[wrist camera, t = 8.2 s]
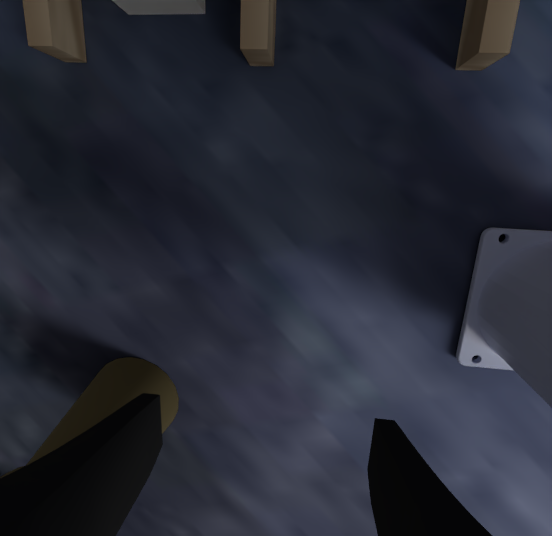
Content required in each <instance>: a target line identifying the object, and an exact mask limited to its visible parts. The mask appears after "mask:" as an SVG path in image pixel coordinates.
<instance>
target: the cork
mask: <svg viewBox="0 0 552 536" xmlns="http://www.w3.org/2000/svg"><path fill="white" fill-rule="evenodd" d="M142 393H149V394H158V395H160V404H161V423H162V434H163V432H164V431H165V430H166V429H167V427H168V426H169V425H170V424H171V422H172V421H173V420H174V418H175V415H176V413H177V411H178V400H179V398H178V394H177V391H176V388H175V385H174V384H173V382H172V381H171V379H170V378H169V376H168V375H167V374H166V373H165V372H164V371H162V370H161V369H160V368H159V367H158V366H156V365H154V364H152V363H150V362H148V361H146V360H144V359H138V358H132V357H126V358H119V359H115V360H113V361H111V362H109V363H107V364H106V365H105V366H104V367H103V368H102V369H101V370H100V372H99V373H98V374H97V375H96V376H95V378H94V379H93V380H92V382H91V383H90V384H89V385H88V387H87V388H86V389H85V391H84V392H83V393H82V394H81V396H80V397H79V398H78V400H77V401H76V402H75V403H74V405H73V406H72V407H71V409H70V410H69V411H68V412H67V414H66V415H65V416H64V417H63V419H62V420H61V421H60V423H59V424H58V425H57V426H56V428H55V429H54V430H53V432H52V433H51V434H50V435H49V437H48V438H47V439H46V441H45V442H44V443H43V444H42V446H41V447H40V448H39V450H38V451H37V452H36V453H35V455H34V456H33V457H32V458H31V460H30V461H29V462H28V464H30V463H32V462H34V461H36V460H38V459H39V458H41V457H43V456H45V455H47V454H48V453H50V452H52V451H54V450H55V449H57V448H59V447H60V446H62V445H64V444H65V443H67V442H68V441H70V440H72V439H73V438H75V437H77V436H78V435H80V434H81V433H83V432H85V431H86V430H88V429H89V428H91V427H92V426H94V425H96V424H97V423H99V422H100V421H102V420H103V419H105V418H106V417H108V416H109V415H111V414H112V413H113V412H115V411H116V410H118V409H119V408H121V407H122V406H124V405H125V404H127V403H128V402H130V401H131V400H133V399H134V398H136V397H137V396H139V395H140V394H142ZM28 464H27V465H28ZM23 467H24V466H23ZM20 468H22V467H19V468H17V469H15V470H12V471H10V472H8V473H6V474H5V475H3V476H1V477H0V478H2V477H4V476H6V475H9V474H11V473H13V472H15V471H17V470H19V469H20Z"/></svg>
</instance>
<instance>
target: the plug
mask: <svg viewBox="0 0 552 536" xmlns="http://www.w3.org/2000/svg"><path fill="white" fill-rule="evenodd" d="M112 1H113V2H114V3H115V4H117V5H118V6H119V7H120V8H121V9H123V10H124V11H125V12H126V13H127V14H128V15H153V14H205V0H112Z"/></svg>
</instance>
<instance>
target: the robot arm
mask: <svg viewBox="0 0 552 536" xmlns="http://www.w3.org/2000/svg"><path fill="white" fill-rule="evenodd" d="M502 234H505V239H504V241H502V242H499V239H498V238H499V236H500V235H502ZM475 355H478V358H477V359H475V360H472V357H473V356H475ZM456 358H457V360H458V362H459V363H460V364H461V365H464V366H472V367H483V368H493V369H504V370H514V371H515V372H516V373H517V374H518V375H519V376H520V377H521V378H522V379H523V380H524V381H525V382H526V383H527V384H528V385H529V386H530V387H531V388H532V389H533V390H534V391H535V392H536V393H537V394H538V395H539V396H540V397H541V398H542V399H543V400H545V401H546V402H547V403H548V404H549V405H550V406H551V407H552V231H543V230H526V229H510V228H493V227H492V228H488V229H486V230H484V231H483V232H482V234H481V237H480V241H479V246H478V251H477V256H476V261H475V266H474V270H473V275H472V280H471V285H470V290H469V294H468V299H467V304H466V309H465V314H464V319H463V323H462V328H461V333H460V338H459V343H458V347H457V352H456ZM162 445H163V443H162V423H161V404H160V395H158V394H149V393H142V394H140V395H139V396H137V397H136V398H134V399H133V400H131V401H130V402H128V403H127V404H125V405H124V406H122V407H121V408H119V409H118V410H116V411H115V412H113V413H112V414H111V415H109V416H108V417H106V418H105V419H103V420H102V421H100V422H99V423H97V424H96V425H94V426H92V427H91V428H89V429H88V430H86V431H85V432H83V433H81V434H80V435H78V436H77V437H75V438H73V439H72V440H70V441H68V442H67V443H65V444H64V445H62V446H60V447H59V448H57V449H55V450H54V451H52V452H50V453H48V454H47V455H45V456H43V457H41V458H39V459H38V460H36V461H34V462H32V463H30V464H28V465H26V466H24V467H22V468H20V469H19V470H17V471H15V472H13V473H11V474H9V475H6V476H4V477H2V478H0V536H116V534H117V532H118V531H119V529H120V527H121V525H122V524H123V522H124V520H125V518H126V517H127V515H128V513H129V511H130V510H131V508H132V506H133V504H134V502H135V501H136V499H137V497H138V495H139V494H140V492H141V490H142V488H143V486H144V485H145V483H146V481H147V479H148V477H149V475H150V473H151V471H152V469H153V466H154V464H155V462H156V459H157V457H158V455H159V452H160V450H161V447H162ZM368 479H369V489H370V497H371V505H372V510H373V514H374V519H375V524H376V528H377V533H378V536H492V535H491V534H490V533H489V532H488V531H487V530H486V529H485V528H484V527H483V526H482V525H481V524H480V523H479V522H478V521H477V520H476V519H475V518H474V517H473V516H472V515H471V514H470V513H469V512H468V511H467V510H466V509H465V508H464V507H463V506H462V504H461V503H460V502H459V501H458V500H457V499H456V498H455V497H454V495H453V494H452V493H451V492H450V491H449V490H448V489H447V487H446V486H445V485H444V484H443V483H442V481H441V480H440V479H439V478H438V477H437V475H436V474H435V473H434V472H433V470H432V469H431V468H430V467H429V465H428V464H427V463H426V462H425V460H424V459H423V458H422V457H421V455H420V454H419V453H418V451H417V450H416V449H415V447H414V446H413V445H412V443H411V442H410V441H409V439H408V438H407V437H406V435H405V434H404V432H403V431H402V430H401V428H400V427H399V426H398V424H397V423H396V422H395V421H394V420H386V419H377V418H375V422H374V429H373V435H372V442H371V449H370V456H369V463H368Z"/></svg>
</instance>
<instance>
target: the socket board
mask: <svg viewBox="0 0 552 536" xmlns="http://www.w3.org/2000/svg"><path fill="white" fill-rule="evenodd" d="M519 4H520V0H467V2H466V8H465V14H464V20H463V26H462V32H461V38H460V44H459V50H458V56H457V62H456V68H455V70H483V69H485V68H486V67H488V66H490V65H491V64H493V63H494V62H496V61H498V60H499V59H501V58H503V57H504V56H506V55H507V54H509V53H510V48H511V43H512V38H513V33H514V28H515V23H516V18H517V13H518V8H519ZM23 8H24V15H25V23H26V31H27V39H28V46H30V47H33V48H35V49H37V50H39V51H42V52H44V53H46V54H48V55H51V56H53V57H55V58H57V59H60V60H62V61H64V62H84V63H87V60H86V49H85V38H84V27H83V16H82V5H81V0H23ZM275 23H276V0H241V28H240V50H241V51H242V53H243V55H244V56H245V58H246V60H247V61H248V63H249V65H250V66H274V48H275Z"/></svg>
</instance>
